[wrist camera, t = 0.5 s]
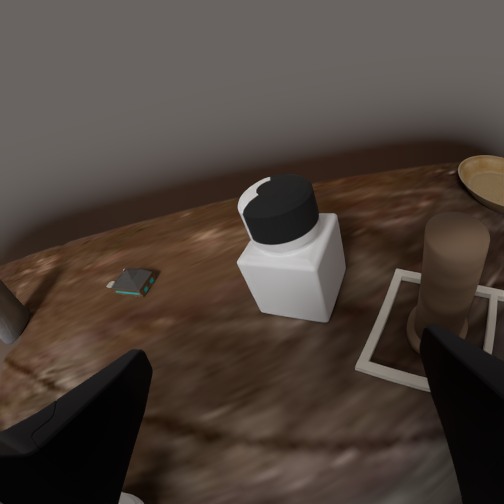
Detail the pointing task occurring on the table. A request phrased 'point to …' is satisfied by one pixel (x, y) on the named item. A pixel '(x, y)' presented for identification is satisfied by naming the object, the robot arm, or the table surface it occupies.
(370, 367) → the track
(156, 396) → the table surface
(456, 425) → the robot arm
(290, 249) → the medicine bottle
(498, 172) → the plant saucer
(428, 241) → the brown flanged cylinder
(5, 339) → the pillar candle
